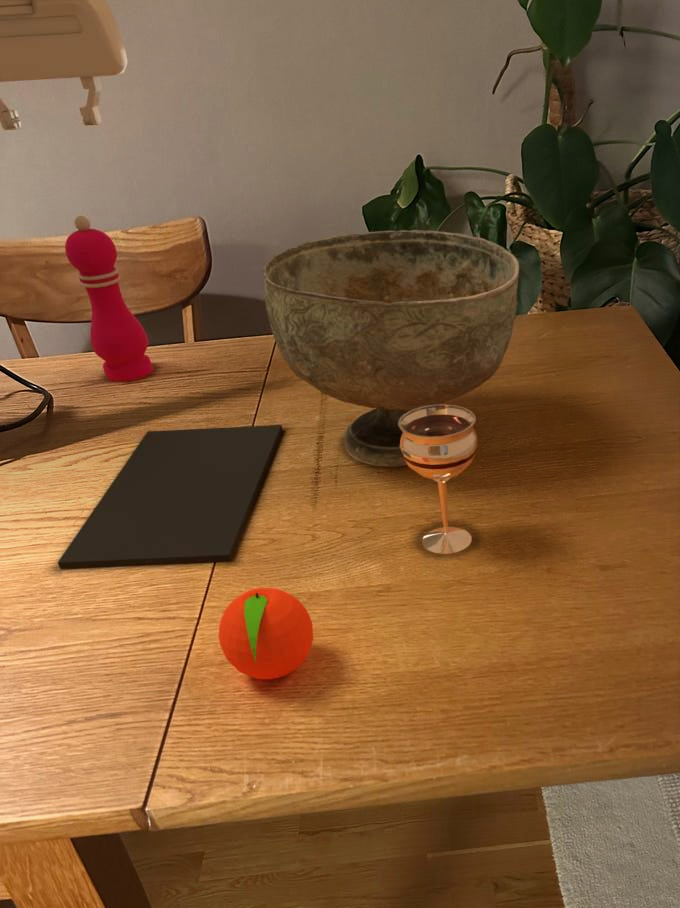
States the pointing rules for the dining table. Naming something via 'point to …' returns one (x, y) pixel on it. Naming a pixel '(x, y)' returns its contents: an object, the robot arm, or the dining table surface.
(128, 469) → the mat
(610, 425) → the dining table surface
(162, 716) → the dining table surface
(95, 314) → the pepper mill
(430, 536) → the wineglass
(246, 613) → the clementine
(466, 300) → the decorative bowl
